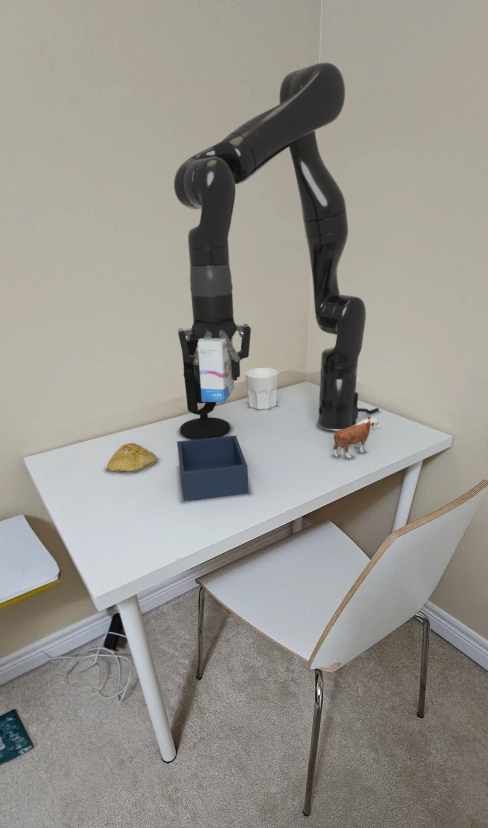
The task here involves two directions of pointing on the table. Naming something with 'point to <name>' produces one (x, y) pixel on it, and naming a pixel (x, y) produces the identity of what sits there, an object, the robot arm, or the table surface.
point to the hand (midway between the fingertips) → (217, 380)
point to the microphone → (204, 424)
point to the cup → (262, 387)
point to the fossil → (131, 459)
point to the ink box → (215, 370)
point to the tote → (212, 468)
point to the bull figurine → (354, 435)
